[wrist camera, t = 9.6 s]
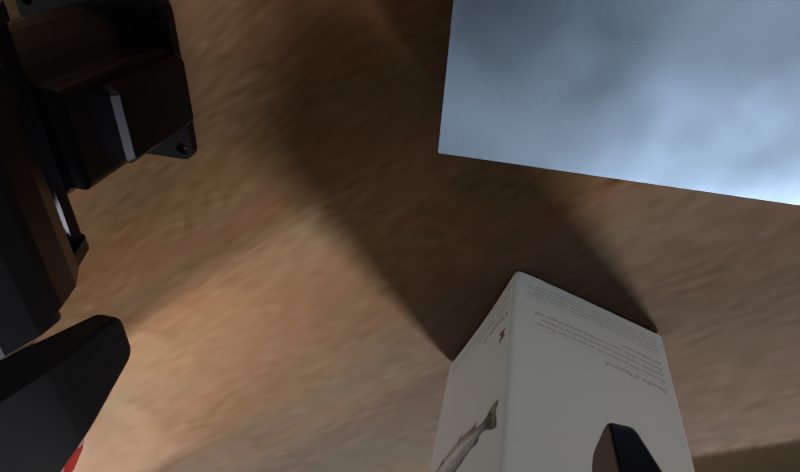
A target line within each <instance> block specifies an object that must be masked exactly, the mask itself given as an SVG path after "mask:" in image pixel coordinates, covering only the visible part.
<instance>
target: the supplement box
mask: <svg viewBox="0 0 800 472" xmlns="http://www.w3.org/2000/svg"><path fill="white" fill-rule="evenodd" d="M608 423H616V424H621V425H625V426H629V427H632V428H633V429H635V430H636V432H637V433H638V434H639V436H640V438H641V439H642V441H643V442H644V444H645V445H646V447H647V449H648V450H649V452H650V453H651V455H652V456H653V458H654V460H655V461H656V463H657V464H658V466H659V467H660V469H661V471H662V472H695V471H694V467H693V464H692V458H691V454H690V450H689V447H688V443H687V439H686V435H685V431H684V427H683V423H682V419H681V415H680V411H679V407H678V403H677V399H676V395H675V391H674V387H673V382H672V378H671V374H670V370H669V366H668V362H667V358H666V354H665V350H664V346H663V342H662V338H661V336H660V335H658V334H655V333H654V332H652V331H650V330H647V329H645V328H643V327H641V326H639V325H637V324H635V323H632V322H630V321H628V320H626V319H624V318H622V317H620V316H617V315H615V314H613V313H611V312H609V311H607V310H605V309H603V308H600V307H598V306H596V305H594V304H592V303H590V302H588V301H585V300H583V299H581V298H579V297H577V296H575V295H572V294H570V293H568V292H566V291H564V290H562V289H560V288H557V287H555V286H553V285H550V284H548V283H546V282H544V281H542V280H540V279H538V278H535V277H533V276H531V275H528V274H526V273H523V272H520V271H519V272H516V273H515V274H514V276H513V277H512V279H511V280H510V282H509V284H508V285H507V287H506V288H505V290H504V292H503V293H502V295H501V296H500V298H499V299H498V301H497V302H496V304H495V305H494V307H493V308H492V310H491V311H490V313H489V314H488V316H487V317H486V318H485V320H484V321H483V323H482V324H481V325H480V327H479V328H478V330H477V331H476V332H475V334H474V335H473V336H472V338H471V339H470V340H469V342H468V343H467V344H466V346H465V347H464V348H463V350H462V351H461V352H460V354H459V355H458V356H457V357H456V359H455V360H454V361H453V362H452V363H451V365H450V370H449V375H448V380H447V385H446V390H445V395H444V399H443V405H442V410H441V414H440V419H439V424H438V430H437V435H436V440H435V445H434V450H433V455H432V460H431V465H430V470H429V472H592V460H593V454H594V450H595V448H596V446H597V443H598V441H599V439H600V437H601V434H602V432H603V430H604V428H605V426H606V425H607V424H608Z"/></svg>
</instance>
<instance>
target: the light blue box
mask: <svg viewBox="0 0 800 472" xmlns="http://www.w3.org/2000/svg"><path fill="white" fill-rule="evenodd" d="M438 153H442V154H449V155H456V156H463V157H470V158H477V159H484V160H491V161H498V162H504V163H511V164H518V165H525V166H532V167H539V168H546V169H553V170H560V171H567V172H574V173H581V174H588V175H595V176H601V177H608V178H615V179H622V180H629V181H636V182H643V183H650V184H657V185H664V186H671V187H678V188H685V189H692V190H698V191H705V192H712V193H719V194H726V195H733V196H740V197H747V198H754V199H761V200H768V201H775V202H782V203H789V204H796V205H800V0H454V1H453V11H452V21H451V30H450V40H449V50H448V60H447V69H446V79H445V89H444V99H443V109H442V118H441V128H440V138H439V148H438Z"/></svg>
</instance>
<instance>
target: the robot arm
mask: <svg viewBox="0 0 800 472" xmlns="http://www.w3.org/2000/svg"><path fill="white" fill-rule="evenodd" d="M16 3H17V6H18V9H19V12H20V14H21V18H17V19H13V20H10V18H9V15H8V12H7V10H6V7H5V4H4V1H3V0H0V472H61V471H62V469H63V468H64V466H65V465H66V464H67V462H68V461H69V459H70V458H71V456H72V455H73V453H74V452H75V450H76V449H77V448H78V446H79V445H80V443H81V442H82V440H83V439H84V437H85V436H86V434H87V432H88V431H89V429H90V428H91V426H92V424H93V423H94V421H95V419H96V417H97V416H98V414H99V412H100V410H101V408H102V407H103V405H104V403H105V401H106V399H107V398H108V396H109V394H110V392H111V390H112V388H113V387H114V385H115V383H116V381H117V379H118V378H119V376H120V374H121V372H122V370H123V369H124V367H125V365H126V363H127V361H128V359H129V356H130V344H129V341H128V338H127V335H126V332H125V330H124V327H123V324H122V322H121V320H120V319H118V318H116V317H111V316H107V315H95V316H93V317H90V318H88V319H86V320H84V321H82V322H80V323H78V324H76V325H74V326H72V327H69V328H67V329H65V330H63V331H61V332H59V333H57V334H55V335H53V336H51V337H48V338H46V339H44V340H42V341H40V342H38V343H36V344H34V345H32V346H30V347H27V348H25V349H23V350H21V351H19V352H17V353H15V354H13V353H14V352H16V351H18V350H19V349H21V348H23V347H25V346H26V345H28V344H30V343H31V342H33V341H35V340H37V339H38V338H39V337H41V336H42V335H43V334H44V333H46V332H47V331H48V330H49V329H50V328H52V327H53V326H54V325H55V324H56V323H57V322H58V321H59V320H60V318H61V313H60V311H59V309H60V308H61V307H62V306H63V304H64V303H65V301H66V300H67V298H68V297H69V295H70V294H71V292H72V291H73V290H74V288H75V287H76V283H77V276H78V270H79V265H80V263H81V262H82V260H83V258H84V257H85V255H86V253H87V251H88V250H89V246H88V243H87V240H86V237H85V235H84V234H81V232H80V229H79V226H78V224H77V221H76V218H75V215H74V212H73V209H72V207H71V204H70V201H69V198H68V194H70V193H71V192H73V191H74V190H76V189H77V188H78V189H84V190H87V189H90V188H91V187H93V186H94V185H96V184H97V183H99V182H100V181H101V180H103V179H104V178H106V177H107V176H109V175H110V174H112V173H113V172H115V171H116V170H118V169H119V168H120V167H122V166H123V165H125V164H126V163H133V162H135V161H136V160H138V159H139V158H141V157H142V156H144V155H145V154H146V153H148V154H155V155H161V156H167V157H174V158H180V159H188V158H190V157H191V156H193V155H194V154H195V153H196V151H197V143H196V138H195V132H194V126H193V121H192V120H193V112H192V107H191V101H190V96H189V90H188V84H187V79H186V73H185V68H184V62H183V60H182V59H181V54H180V49H179V43H178V37H177V32H176V26H175V21H174V15H173V11H172V8H171V6H170V5H169V3H168V2H167V1H166V0H32V1H31V0H16ZM155 7H157V8H158V9H159V10H160V13H161V17H159V16H158V15H157V14H156V12H155ZM181 143H182V144H184V145H185V146H186V148H187V150H186V149H184V148H183V147H182V145H181ZM11 354H13V355H11ZM9 355H11V356H9ZM7 356H9V357H7ZM1 359H2V360H1ZM592 472H662V471H661V469H660V467H659V466H658V464H657V463H656V461H655V460H654V458H653V456H652V455H651V453H650V452H649V450H648V449H647V447H646V445H645V444H644V442H643V441H642V439H641V438H640V436H639V434H638V433H637V432H636V430H635V429H633V428H632V427H629V426H625V425H621V424H616V423H608V424H607V425H606V426H605V428H604V430H603V432H602V434H601V437H600V439H599V441H598V443H597V446H596V448H595V450H594V454H593V460H592Z"/></svg>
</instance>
